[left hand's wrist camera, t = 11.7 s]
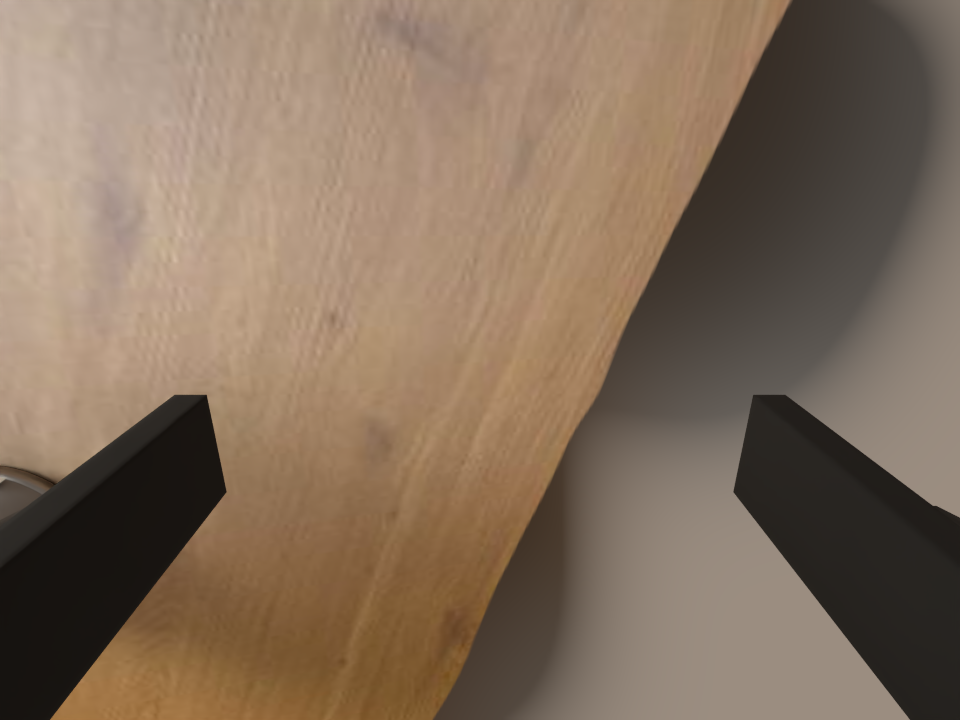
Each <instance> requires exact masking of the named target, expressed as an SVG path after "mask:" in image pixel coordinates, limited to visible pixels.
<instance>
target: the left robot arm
mask: <svg viewBox="0 0 960 720" xmlns="http://www.w3.org/2000/svg"><path fill="white" fill-rule="evenodd" d="M225 493H226V487H225V482H224V477H223V472H222V467H221V462H220V458H219V453H218V448H217V443H216V438H215V433H214V428H213V423H212V419H211V414H210V409H209V404H208V399H207V395H174V396H173V397H171V398H170V399H169V400H167V401H166V402H165V403H163V404H162V405H161V406H159V407H158V408H157V409H155V410H154V411H153V412H151V413H150V414H149V415H147V416H146V417H145V418H143V419H142V420H141V421H139V422H138V423H137V424H135V425H134V426H133V427H131V428H130V429H129V430H127V431H126V432H125V433H123V434H122V435H121V436H119V437H118V438H117V439H115V440H114V441H113V442H111V443H110V444H109V445H108V446H106V447H105V448H104V449H102V450H101V451H100V452H98V453H97V454H96V455H94V456H93V457H92V458H90V459H89V460H88V461H86V462H85V463H84V464H82V465H81V466H80V467H78V468H77V469H76V470H74V471H73V472H72V473H70V474H69V475H68V476H66V477H65V478H64V479H62V480H61V481H60V482H58V483H57V484H56V485H54V484H52V483H50V482H49V481H47V480H45V479H43V478H41V477H38V476H36V475H33V474H31V473H28V472H25V471H22V470H19V469H15V468H10V467H5V466H0V720H50V719H51V718H52V716H53V715H54V714H55V712H56V711H57V710H58V709H59V707H60V706H61V705H62V703H63V702H64V701H65V700H66V698H67V697H68V696H69V694H70V693H71V692H72V691H73V689H74V688H75V687H76V685H77V684H78V683H79V682H80V680H81V679H82V678H83V676H84V675H85V674H86V673H87V671H88V670H89V669H90V667H91V666H92V665H93V664H94V662H95V661H96V660H97V658H98V657H99V656H100V654H101V653H102V652H103V651H104V649H105V648H106V647H107V645H108V644H109V643H110V642H111V640H112V639H113V638H114V636H115V635H116V634H117V633H118V631H119V630H120V629H121V627H122V626H123V625H124V624H125V622H126V621H127V620H128V618H129V617H130V616H131V615H132V613H133V612H134V611H135V609H136V608H137V607H138V606H139V604H140V603H141V602H142V600H143V599H144V598H145V596H146V595H147V594H148V593H149V591H150V590H151V589H152V587H153V586H154V585H155V584H156V582H157V581H158V580H159V578H160V577H161V576H162V575H163V573H164V572H165V571H166V569H167V568H168V567H169V566H170V564H171V563H172V562H173V560H174V559H175V558H176V557H177V555H178V554H179V553H180V551H181V550H182V549H183V548H184V546H185V545H186V544H187V542H188V541H189V540H190V538H191V537H192V536H193V535H194V533H195V532H196V531H197V529H198V528H199V527H200V526H201V524H202V523H203V522H204V520H205V519H206V518H207V517H208V515H209V514H210V513H211V511H212V510H213V509H214V508H215V506H216V505H217V504H218V502H219V501H220V500H221V499H222V497H223V496H224V495H225ZM734 493H735V495H736V496H737V497H738V499H739V500H740V501H741V502H742V504H743V505H744V506H745V508H746V509H747V510H748V511H749V513H750V514H751V515H752V517H753V518H754V519H755V520H756V522H757V523H758V524H759V526H760V527H761V528H762V529H763V531H764V532H765V533H766V535H767V536H768V537H769V538H770V540H771V541H772V542H773V544H774V545H775V546H776V548H777V549H778V550H779V551H780V553H781V554H782V555H783V557H784V558H785V559H786V560H787V562H788V563H789V564H790V566H791V567H792V568H793V569H794V571H795V572H796V573H797V575H798V576H799V577H800V578H801V580H802V581H803V582H804V584H805V585H806V586H807V587H808V589H809V590H810V591H811V593H812V594H813V595H814V596H815V598H816V599H817V600H818V602H819V603H820V604H821V606H822V607H823V608H824V609H825V611H826V612H827V613H828V615H829V616H830V617H831V618H832V620H833V621H834V622H835V624H836V625H837V626H838V627H839V629H840V630H841V631H842V633H843V634H844V635H845V636H846V638H847V639H848V640H849V642H850V643H851V644H852V645H853V647H854V648H855V649H856V651H857V652H858V653H859V654H860V656H861V657H862V658H863V660H864V661H865V662H866V664H867V665H868V666H869V667H870V669H871V670H872V671H873V673H874V674H875V675H876V676H877V678H878V679H879V680H880V682H881V683H882V684H883V685H884V687H885V688H886V689H887V691H888V692H889V693H890V694H891V696H892V697H893V698H894V700H895V701H896V702H897V703H898V705H899V706H900V707H901V709H902V710H903V711H904V712H905V714H906V715H907V716H908V718H909V719H910V720H960V518H959V517H957V516H955V515H953V514H951V513H949V512H947V511H945V510H943V509H941V508H939V507H937V506H932V505H931V504H930V503H928V502H927V501H926V500H924V499H923V498H922V497H920V496H919V495H918V494H916V493H915V492H914V491H912V490H911V489H910V488H908V487H907V486H906V485H904V484H903V483H902V482H900V481H899V480H898V479H896V478H895V477H894V476H892V475H891V474H890V473H888V472H887V471H886V470H884V469H883V468H882V467H880V466H879V465H878V464H876V463H875V462H874V461H872V460H871V459H870V458H868V457H867V456H866V455H864V454H863V453H862V452H860V451H859V450H858V449H856V448H855V447H854V446H852V445H851V444H850V443H849V442H847V441H846V440H845V439H843V438H842V437H841V436H839V435H838V434H837V433H835V432H834V431H833V430H831V429H830V428H829V427H827V426H826V425H825V424H823V423H822V422H821V421H819V420H818V419H817V418H815V417H814V416H813V415H811V414H810V413H809V412H807V411H806V410H805V409H803V408H802V407H801V406H799V405H798V404H797V403H795V402H794V401H793V400H791V399H790V398H789V397H787V396H786V395H753V399H752V404H751V409H750V414H749V419H748V423H747V428H746V433H745V438H744V443H743V448H742V453H741V458H740V463H739V468H738V472H737V477H736V482H735V487H734Z"/></svg>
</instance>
